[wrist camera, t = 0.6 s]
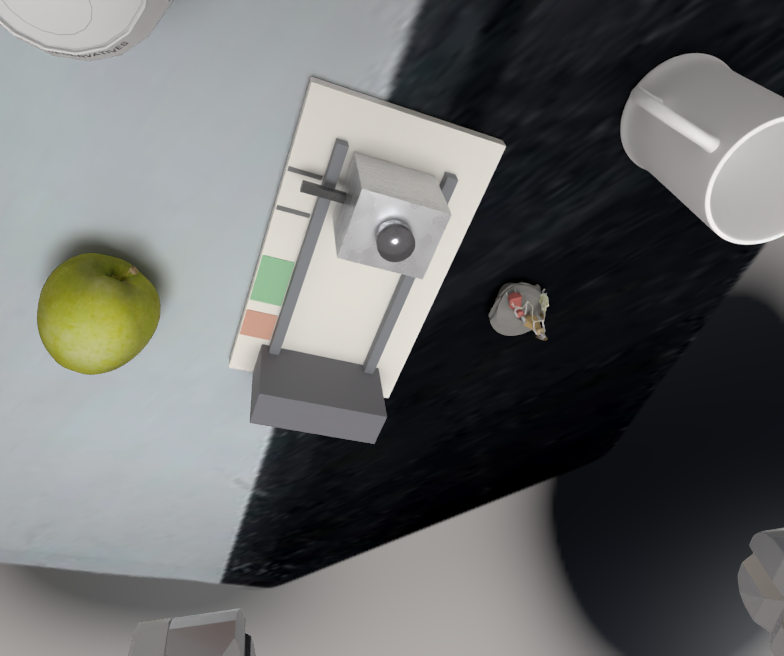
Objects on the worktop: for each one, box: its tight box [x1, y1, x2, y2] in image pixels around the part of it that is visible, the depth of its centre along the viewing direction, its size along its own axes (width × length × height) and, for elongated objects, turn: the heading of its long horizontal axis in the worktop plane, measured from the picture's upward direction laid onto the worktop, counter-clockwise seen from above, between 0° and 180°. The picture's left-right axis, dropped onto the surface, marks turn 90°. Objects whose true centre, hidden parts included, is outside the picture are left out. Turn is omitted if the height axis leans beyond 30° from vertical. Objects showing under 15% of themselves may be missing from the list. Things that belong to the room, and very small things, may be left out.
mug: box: [620, 53, 784, 245], centre depth 43 cm, size 12×8×12 cm
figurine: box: [489, 282, 549, 340], centre depth 54 cm, size 5×4×6 cm
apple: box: [37, 253, 160, 375], centre depth 47 cm, size 8×9×8 cm
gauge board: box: [229, 77, 506, 444], centre depth 49 cm, size 24×14×7 cm, turn 160°
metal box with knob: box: [300, 152, 452, 279], centre depth 45 cm, size 5×9×7 cm, turn 70°
